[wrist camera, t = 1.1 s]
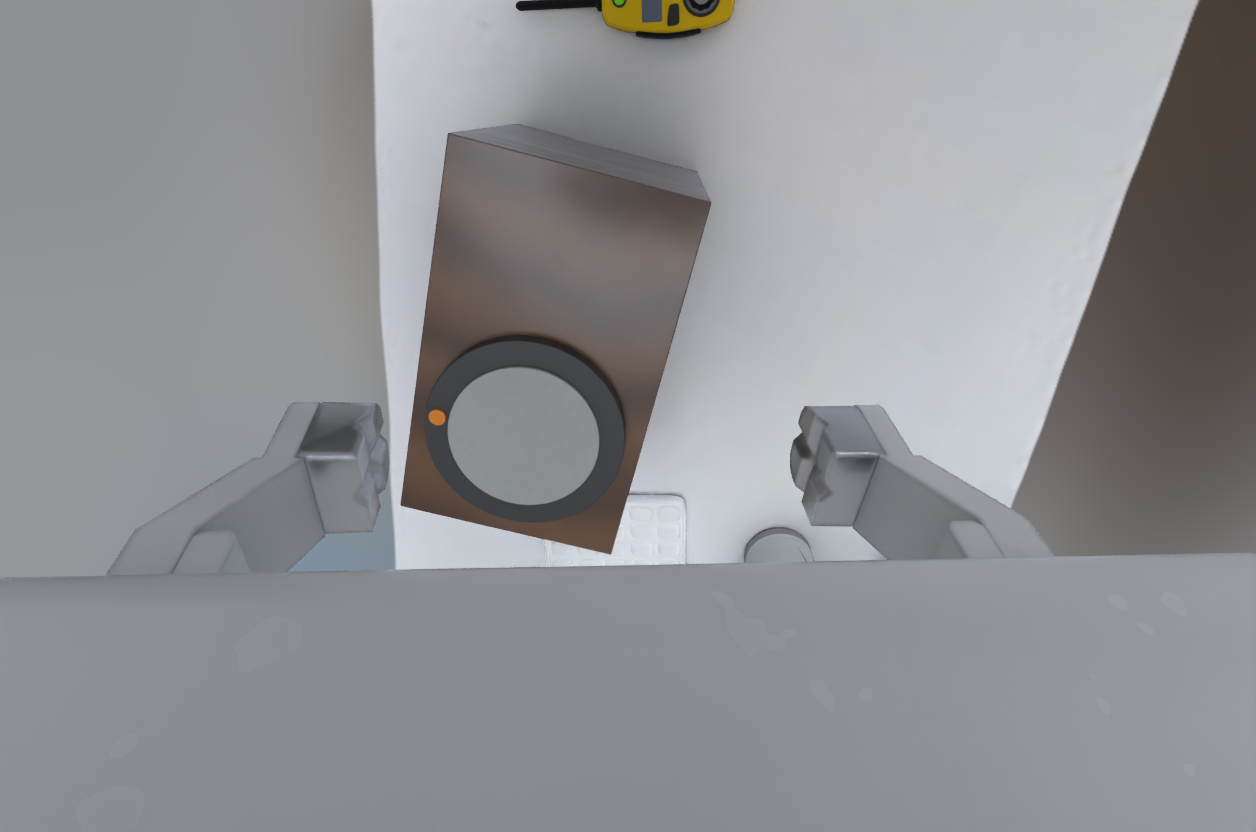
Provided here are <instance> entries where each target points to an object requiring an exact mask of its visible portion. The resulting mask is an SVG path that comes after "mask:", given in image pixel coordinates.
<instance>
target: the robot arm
mask: <svg viewBox="0 0 1256 832" xmlns="http://www.w3.org/2000/svg"><path fill="white" fill-rule="evenodd" d="M798 423H799V426H800V428H801V430H802V433H801V434H800V435H799V436H798V437H797V438H795V439H794V440H793V444H792V449H791V453H790V469H791V474H792V478H793V481H794V483H795V486H796V487H798V488H799V489H801V490H802V491H803V492H804V495H803V499H802V504H803V506H804V509H805V511H806V513H807V516H808V518H809V521H810V523H811V526H854V527H853V529H854V530H856V531H857V532H858V533H859V534H860V535H861V536H862V537H863V538H864V539H866V540H867V541H868V542H869V543H870V544H871V545H872V546H873V547H874V548H876V549H877V550H878V551H879V552H880V553H881V554H882V555H883V556H884V557H886V558H887V559H888V560H868V561H818V562H768V563H717V564H668V565H617V566H566V567H514V568H463V569H412V570H362V571H361V570H360V571H309V572H288V571H289V570H290V569H291V568H292V567H293V566H294V565H295V564H296V563H297V562H298V561H300V560H301V559H302V558H303V557H304V556H305V555H306V554H307V553H308V552H309V551H310V550H311V549H312V548H313V547H314V546H315V545H316V544H317V543H318V542H319V541H320V540H321V539H322V538H324V537H325V535H324V534H334V533H358V532H373V530H374V526H375V523H376V519H377V516H378V512H379V509H380V502H379V497H378V494H379V493H380V492H382V491H383V490H384V489H385V487H386V483H387V479H388V471H389V451H388V445H387V440H386V439H385V438H383V437H382V436H381V435H380V431H381V428H382V425H383V418H382V414H381V409H380V407H379V405H378V404H374V403H334V402H323V403H320V402H294V403H292V404H290V405H289V406H288V408H287V410H286V412H285V414H284V416H283V418H282V420H281V421H280V423H279V425H278V427H277V429H276V431H275V434H274V435H273V437H272V439H271V441H270V443H269V445H268V447H267V449H266V451H265V453H264V455H263V457H262V458H253V459H251V460H249V461H248V462H246V463H244V464H243V465H241V466H239V467H238V468H236V469H234V470H233V471H231V472H229V473H228V474H226V475H224V476H223V477H221V478H219V479H218V480H216V481H215V482H213V483H211V484H210V485H208V486H206V487H205V488H203V489H201V490H200V491H198V492H196V493H195V494H193V495H191V496H190V497H188V498H187V499H185V500H183V501H182V502H180V503H178V504H177V505H175V506H173V507H172V508H170V509H168V510H167V511H165V512H163V513H162V514H160V515H159V516H157V517H155V518H154V519H152V520H150V521H149V522H147V523H145V524H144V525H142V526H140V527H139V528H137V529H135V531H134V532H133V534H132V535H131V537H130V538H129V540H128V542H127V543H126V544H125V546H124V547H123V549H122V551H121V552H120V554H119V555H118V557H117V558H116V560H115V561H114V563H113V564H112V566H111V568H110V569H109V570H108V572H107V574H106V575H105V576H59V577H58V576H56V577H6V578H5V577H4V578H0V832H1256V553H1213V554H1211V553H1210V554H1168V555H1167V554H1165V555H1125V556H1124V555H1122V556H1121V555H1120V556H1072V557H1055V556H1054V554H1053V553H1052V552H1051V550H1050V549H1049V548H1048V546H1047V545H1046V543H1045V542H1044V541H1043V540H1042V538H1041V537H1040V535H1039V534H1038V533H1037V531H1036V530H1035V529H1034V527H1033V526H1032V525H1031V523H1030V522H1029V521H1028V519H1027V518H1025V517H1023V516H1022V515H1020V514H1019V513H1017V512H1015V511H1013V510H1012V509H1010V508H1008V507H1007V506H1005V505H1003V504H1002V503H1000V502H998V501H997V500H995V499H993V498H992V497H990V496H988V495H986V494H985V493H983V492H981V491H980V490H978V489H976V488H975V487H973V486H971V485H970V484H968V483H966V482H964V481H963V480H961V479H959V478H958V477H956V476H954V475H953V474H951V473H949V472H948V471H946V470H944V469H942V468H941V467H939V466H937V465H936V464H934V463H932V462H931V461H929V460H927V459H926V458H924V457H922V456H914V455H913V454H912V452H911V451H910V449H909V448H908V446H907V444H906V443H905V441H904V440H903V438H902V436H901V435H900V433H899V432H898V430H897V429H896V427H895V425H894V424H893V422H892V421H891V419H890V418H889V416H888V414H887V413H886V411H885V410H884V408H883V407H881V406H880V405H854V406H805V407H804V409H803V410H802V412H801V415H800V418H799V422H798Z"/></svg>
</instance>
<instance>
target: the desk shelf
mask: <svg viewBox="0 0 1256 832" xmlns="http://www.w3.org/2000/svg"><path fill="white" fill-rule="evenodd" d="M710 206H711V201H710V198H709V196H708V194H707V192H706V190H705V188H704V186H703V183H702V181H701V179H700V177H699V175H698V173H697V171H693V170H689V169H685V168H682V167H678V166H674V165H670V164H666V163H663V162H659V161H655V160H651V159H648V158H644V157H640V156H636V155H633V154H629V153H625V152H621V151H617V150H614V149H610V148H606V147H602V146H599V145H595V144H591V143H587V142H584V141H580V140H576V139H572V138H569V137H565V136H561V135H557V134H553V133H550V132H546V131H542V130H538V129H535V128H531V127H527V126H523V125H520V124H512V125H504V126H497V127H490V128H482V129H475V130H467V131H460V132H453V133H448V138H447V145H446V153H445V161H444V169H443V177H442V185H441V192H440V200H439V208H438V216H437V224H436V232H435V239H434V247H433V255H432V263H431V271H430V279H429V286H428V294H427V302H426V310H425V318H424V326H423V333H422V341H421V349H420V357H419V365H418V373H417V381H416V388H415V396H414V404H413V412H412V420H411V428H410V435H409V443H408V451H407V459H406V467H405V475H404V482H403V490H402V498H401V506H404V507H408V508H413V509H417V510H421V511H425V512H430V513H434V514H438V515H443V516H447V517H451V518H455V519H460V520H464V521H468V522H473V523H477V524H481V525H485V526H490V527H494V528H498V529H503V530H507V531H511V532H515V533H520V534H524V535H528V536H533V537H537V538H541V539H546V540H550V541H554V542H558V543H563V544H567V545H571V546H576V547H580V548H584V549H588V550H593V551H597V552H601V553H606V554H610V555H611V553H612V550H613V546H614V543H615V539H616V536H617V532H618V529H619V525H620V522H621V518H622V515H623V511H624V508H625V504H626V501H627V497H628V494H629V490H630V487H631V483H632V480H633V476H634V473H635V469H636V466H637V462H638V459H639V455H640V452H641V448H642V445H643V441H644V438H645V434H646V431H647V427H648V424H649V420H650V417H651V413H652V410H653V406H654V403H655V399H656V396H657V392H658V389H659V385H660V382H661V378H662V375H663V371H664V368H665V364H666V360H667V357H668V353H669V350H670V346H671V343H672V339H673V336H674V332H675V329H676V325H677V322H678V318H679V315H680V311H681V308H682V304H683V301H684V297H685V294H686V290H687V287H688V283H689V280H690V276H691V273H692V269H693V266H694V262H695V259H696V255H697V252H698V248H699V245H700V241H701V238H702V234H703V231H704V227H705V224H706V220H707V217H708V213H709V210H710ZM518 335H519V336H533V337H539V338H544V339H548V340H551V341H554V342H558V343H560V344H562V345H565V346H567V347H569V348H571V349H573V350H575V351H576V352H578V353H579V354H581V355H583V356H584V357H585V358H587V359H588V360H589V361H590V362H592V363H593V364H594V365H595V366H596V367H597V368H598V369H599V370H600V371H601V372H602V373H603V374H604V376H605V377H606V378H607V380H608V381H609V382H610V384H611V385H612V387H613V389H614V391H615V392H616V394H617V396H618V399H619V401H620V404H621V406H622V410H623V414H624V418H625V427H626V440H625V449H624V454H623V460H622V463H621V466H620V468H619V471H618V473H617V475H616V477H615V479H614V481H613V482H612V484H611V485H610V486H609V488H608V489H607V490H606V491H605V493H604V494H603V495H602V496H601V497H600V498H599V499H598V500H596V501H595V502H594V503H592V504H591V505H590V506H588V507H587V508H585V509H583V510H582V511H580V512H578V513H576V514H573V515H571V516H569V517H566V518H562V519H559V520H555V521H548V522H538V523H528V522H517V521H511V520H506V519H503V518H499V517H496V516H493V515H491V514H489V513H486V512H484V511H482V510H480V509H478V508H476V507H475V506H473V505H471V504H470V503H469V502H467V501H466V500H464V499H463V498H462V497H461V496H459V495H458V494H457V493H456V492H455V491H454V490H453V489H452V488H451V487H450V486H449V485H448V484H447V483H446V481H445V480H444V479H443V477H442V476H441V474H440V473H439V472H438V470H437V468H436V466H435V464H434V462H433V461H432V458H431V455H430V453H429V450H428V447H427V442H426V438H425V428H424V420H425V410H426V405H427V401H428V398H429V396H430V393H431V390H432V388H433V387H434V385H435V383H436V381H437V379H438V378H439V377H440V376H441V374H442V373H443V372H444V370H445V369H446V368H447V367H448V366H449V364H451V363H452V362H453V361H454V360H455V359H456V358H457V357H458V356H459V355H461V354H462V353H464V352H465V351H466V350H468V349H470V348H472V347H473V346H475V345H477V344H479V343H482V342H485V341H488V340H491V339H495V338H500V337H505V336H518Z"/></svg>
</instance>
